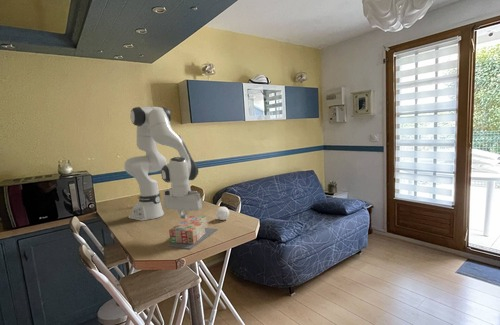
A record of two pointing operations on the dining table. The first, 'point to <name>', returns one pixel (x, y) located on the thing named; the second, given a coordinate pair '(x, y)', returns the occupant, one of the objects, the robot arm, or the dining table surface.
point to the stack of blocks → (188, 230)
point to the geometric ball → (222, 213)
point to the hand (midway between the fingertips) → (184, 218)
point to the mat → (188, 246)
